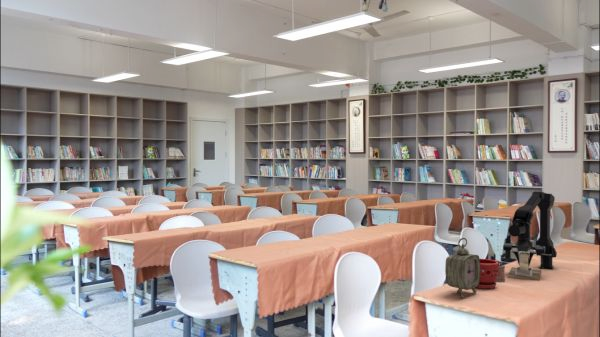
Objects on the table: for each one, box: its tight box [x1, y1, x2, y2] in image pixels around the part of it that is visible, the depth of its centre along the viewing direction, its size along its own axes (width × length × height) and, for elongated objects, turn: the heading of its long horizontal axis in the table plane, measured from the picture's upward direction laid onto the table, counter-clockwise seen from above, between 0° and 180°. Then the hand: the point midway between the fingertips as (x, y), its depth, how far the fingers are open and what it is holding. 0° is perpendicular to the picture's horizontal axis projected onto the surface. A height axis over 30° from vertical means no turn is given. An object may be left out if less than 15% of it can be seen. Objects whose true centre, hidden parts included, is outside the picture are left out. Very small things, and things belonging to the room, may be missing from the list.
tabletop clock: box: [444, 237, 481, 299], centre depth 213 cm, size 14×9×25 cm, turn 131°
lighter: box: [488, 259, 506, 283], centre depth 234 cm, size 8×3×10 cm, turn 84°
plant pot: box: [475, 258, 500, 289], centre depth 226 cm, size 13×13×12 cm
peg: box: [518, 251, 530, 271], centre depth 243 cm, size 4×4×9 cm
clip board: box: [507, 266, 542, 282], centre depth 246 cm, size 20×14×4 cm
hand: (524, 265), depth 243 cm, fingers closed on peg, 4 cm apart
